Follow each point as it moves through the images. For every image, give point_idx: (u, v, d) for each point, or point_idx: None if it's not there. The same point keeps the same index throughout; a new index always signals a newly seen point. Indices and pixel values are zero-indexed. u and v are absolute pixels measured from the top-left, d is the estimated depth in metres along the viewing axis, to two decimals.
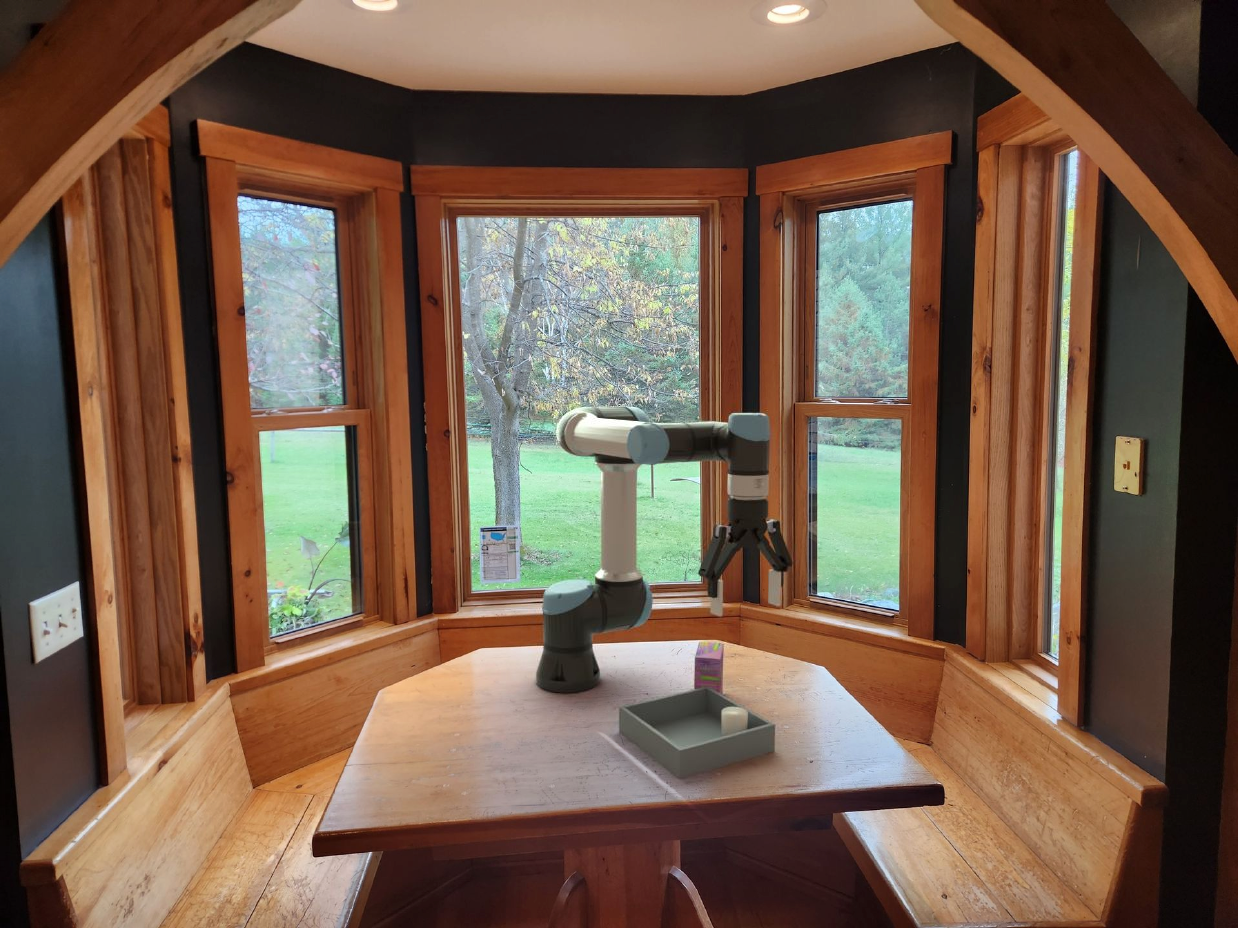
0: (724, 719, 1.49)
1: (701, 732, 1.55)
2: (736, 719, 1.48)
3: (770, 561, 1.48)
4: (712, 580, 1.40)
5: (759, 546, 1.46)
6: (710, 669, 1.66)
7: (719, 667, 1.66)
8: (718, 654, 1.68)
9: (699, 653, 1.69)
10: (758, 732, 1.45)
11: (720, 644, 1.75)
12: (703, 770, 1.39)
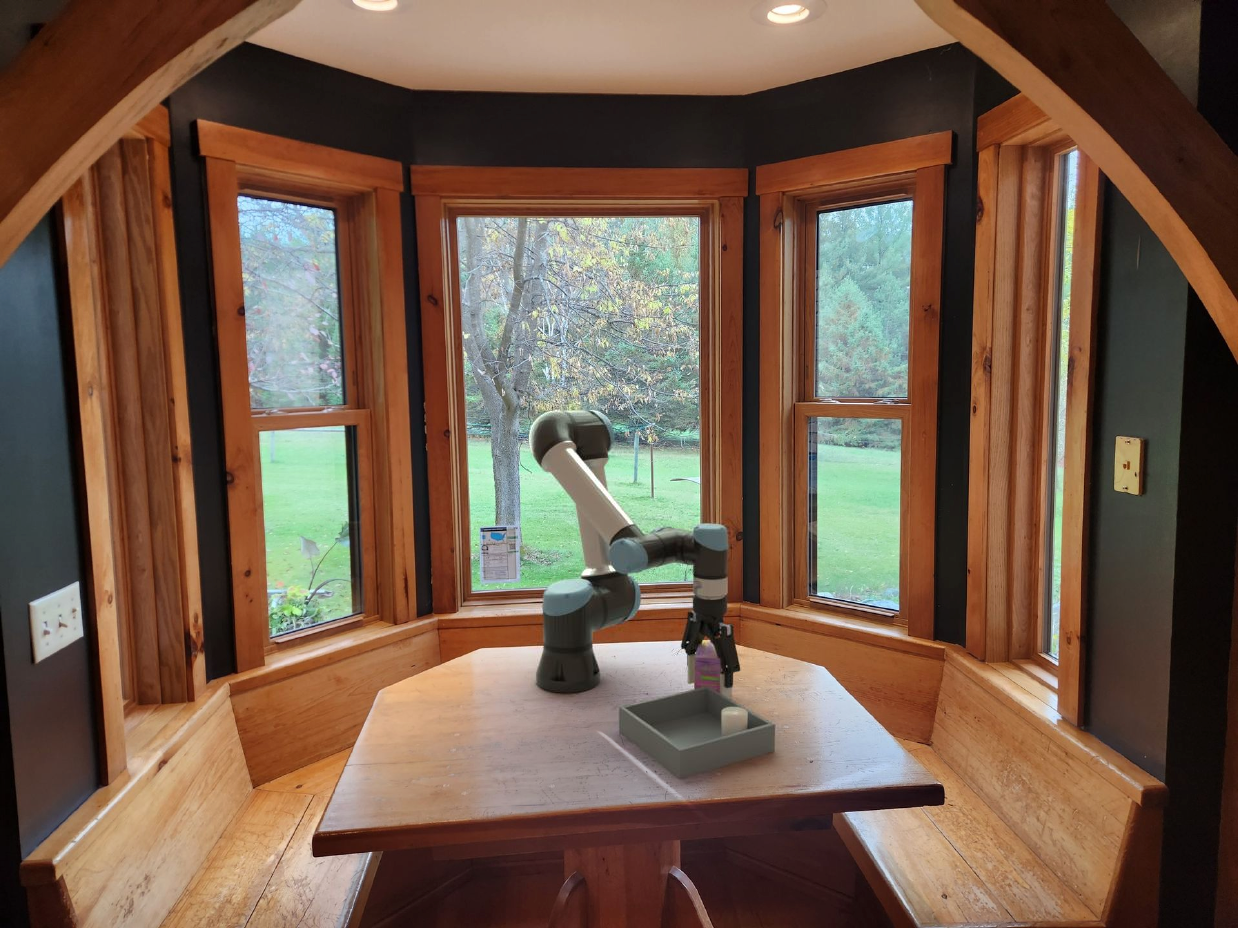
0: (724, 719, 1.49)
1: (701, 732, 1.55)
2: (736, 719, 1.48)
3: None
4: None
5: None
6: (710, 669, 1.66)
7: (719, 667, 1.66)
8: None
9: (699, 653, 1.69)
10: (758, 732, 1.45)
11: None
12: (703, 770, 1.39)
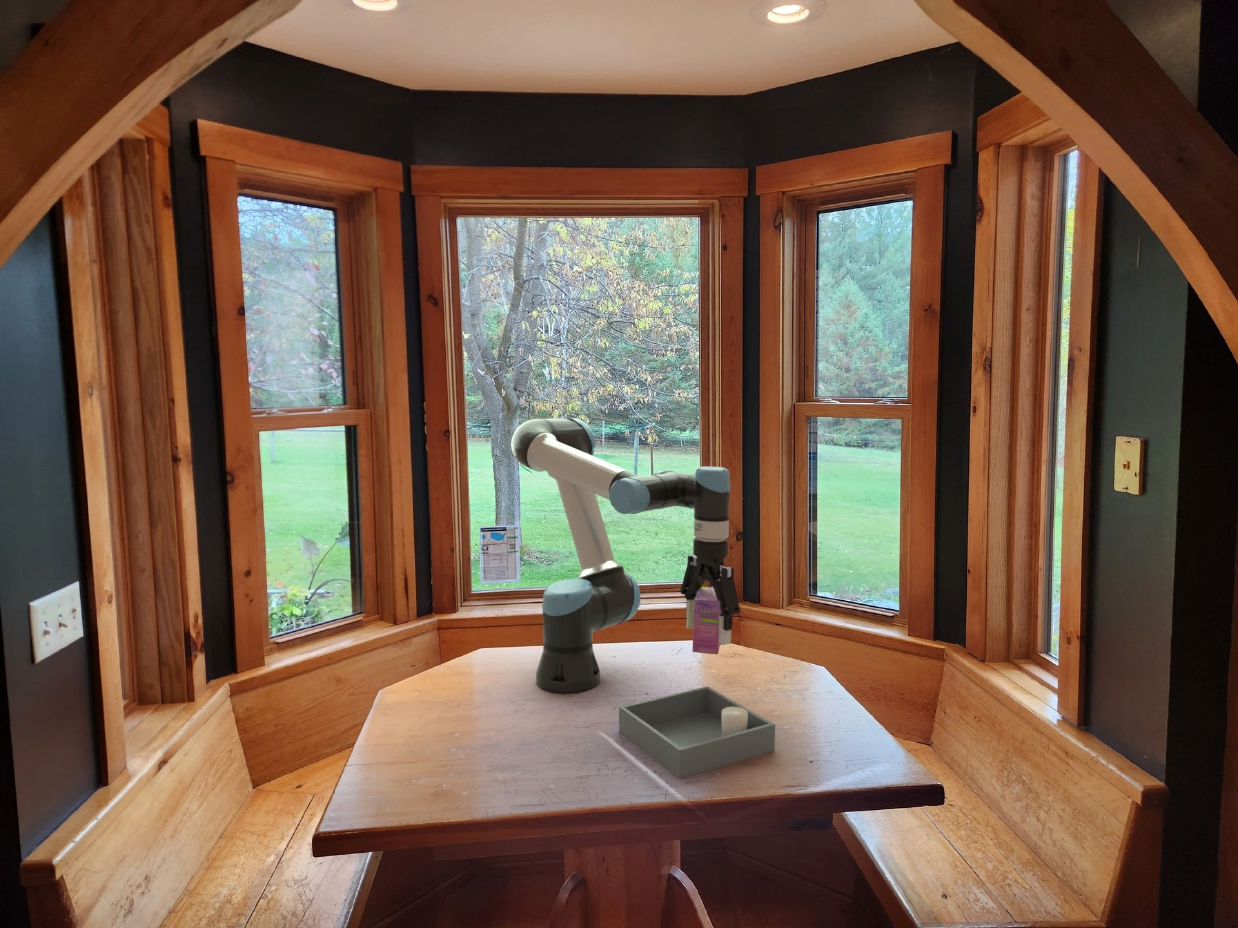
0: (724, 719, 1.49)
1: (701, 732, 1.55)
2: (736, 719, 1.48)
3: None
4: None
5: None
6: (710, 612, 1.65)
7: (719, 610, 1.65)
8: None
9: (699, 596, 1.68)
10: (758, 732, 1.45)
11: None
12: (703, 770, 1.39)
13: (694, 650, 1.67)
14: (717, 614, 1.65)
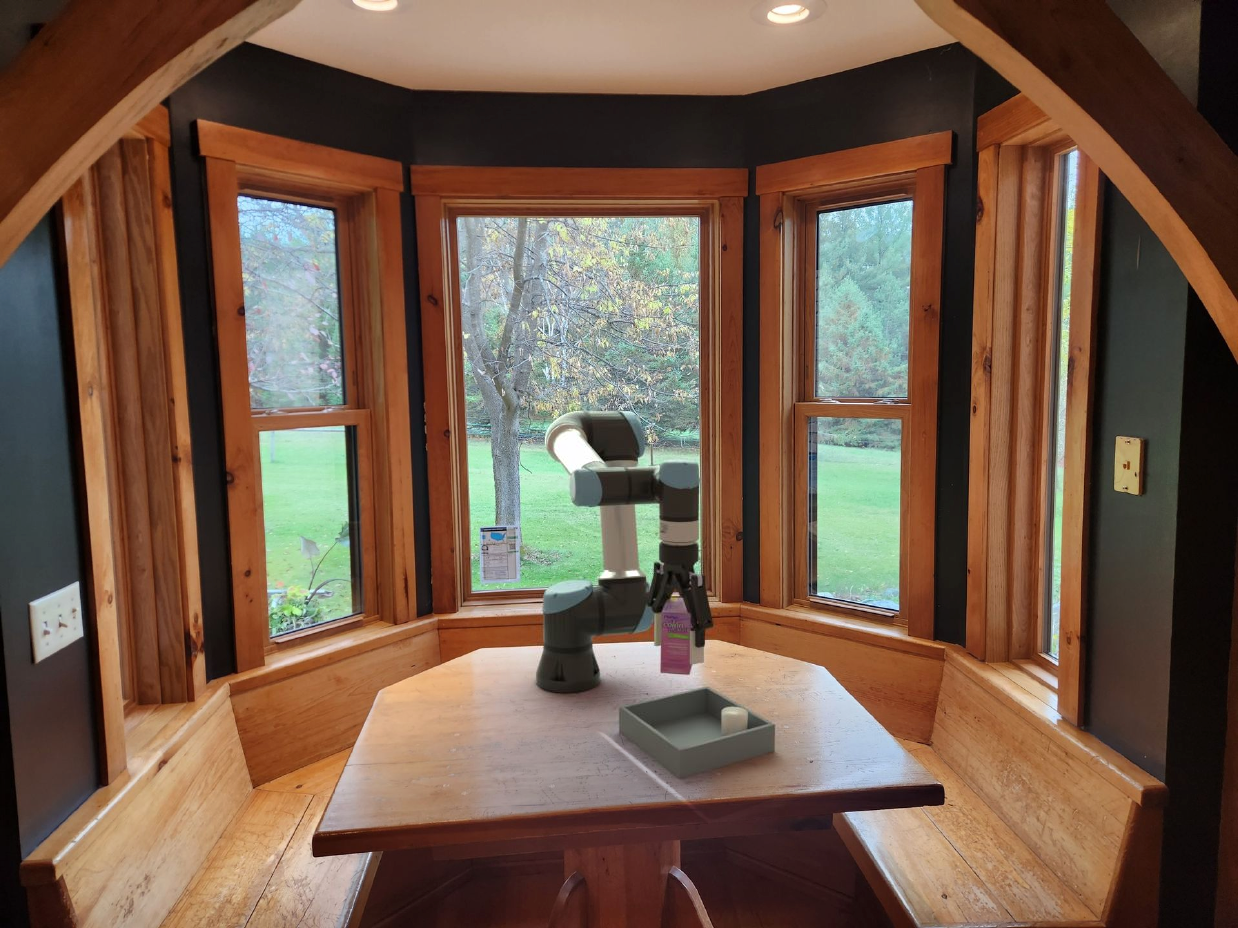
0: (724, 719, 1.49)
1: (701, 732, 1.55)
2: (736, 719, 1.48)
3: None
4: None
5: None
6: (679, 626, 1.44)
7: (689, 623, 1.43)
8: None
9: (667, 608, 1.47)
10: (758, 732, 1.45)
11: None
12: (703, 770, 1.39)
13: (663, 671, 1.45)
14: (687, 628, 1.43)
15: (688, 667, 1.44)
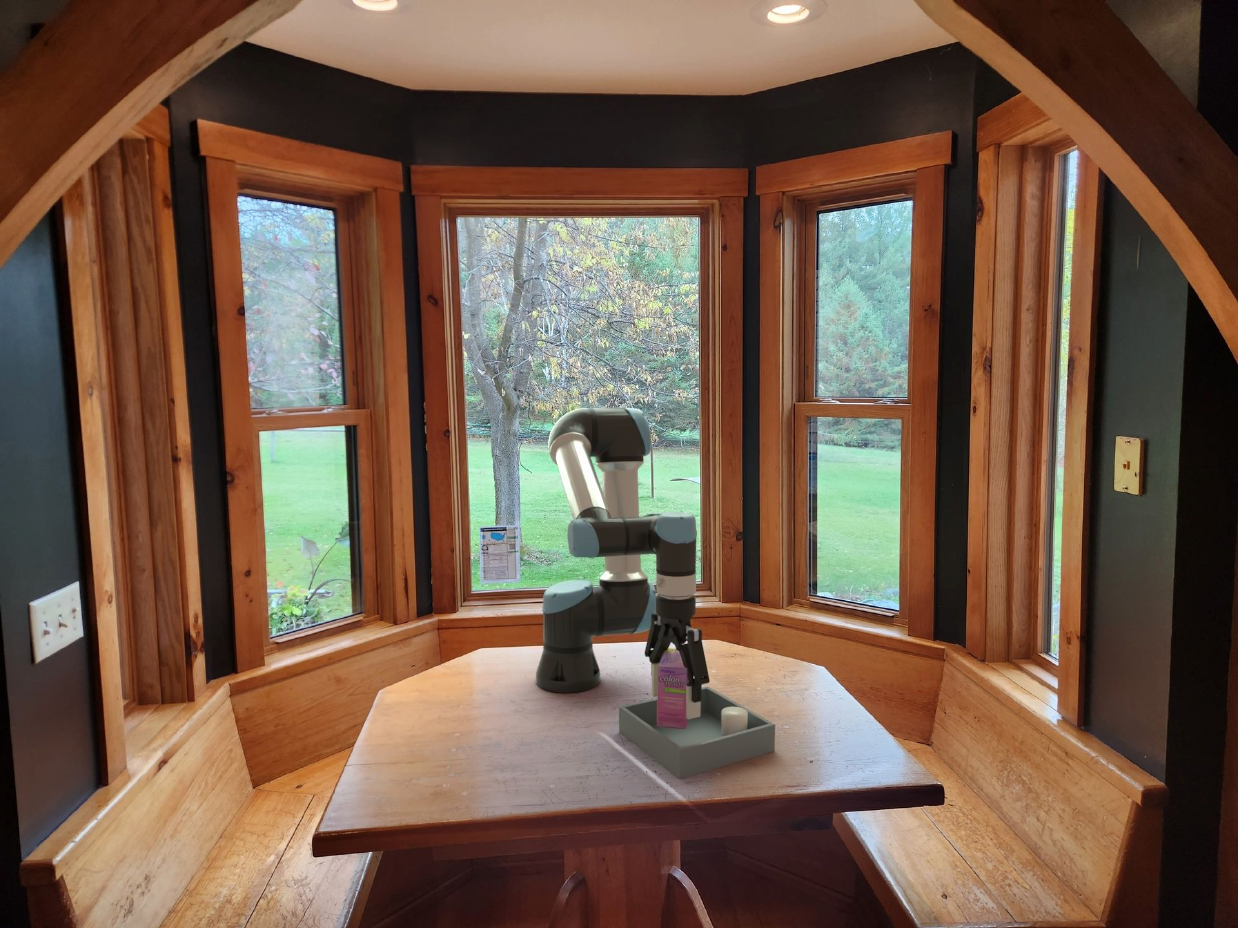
0: (724, 719, 1.49)
1: (701, 732, 1.55)
2: (736, 719, 1.48)
3: None
4: None
5: None
6: (675, 680, 1.44)
7: (686, 678, 1.43)
8: None
9: (663, 661, 1.46)
10: (758, 732, 1.45)
11: None
12: (703, 770, 1.39)
13: (659, 724, 1.45)
14: (684, 683, 1.43)
15: (684, 721, 1.44)
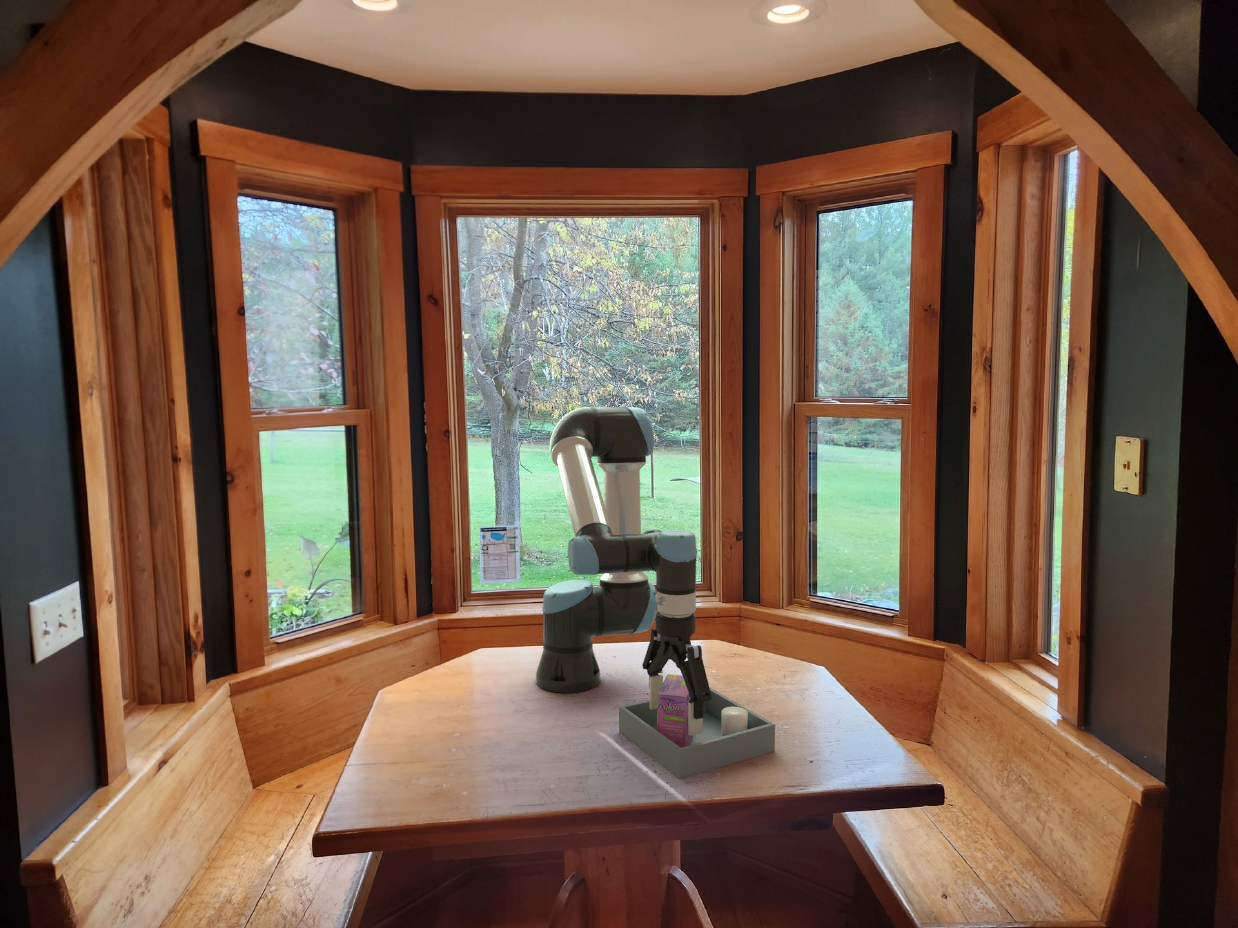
0: (724, 719, 1.49)
1: None
2: (736, 719, 1.48)
3: None
4: None
5: None
6: (675, 708, 1.44)
7: (685, 706, 1.44)
8: (686, 691, 1.46)
9: (664, 688, 1.47)
10: (758, 732, 1.45)
11: None
12: (703, 770, 1.39)
13: None
14: (683, 711, 1.44)
15: None
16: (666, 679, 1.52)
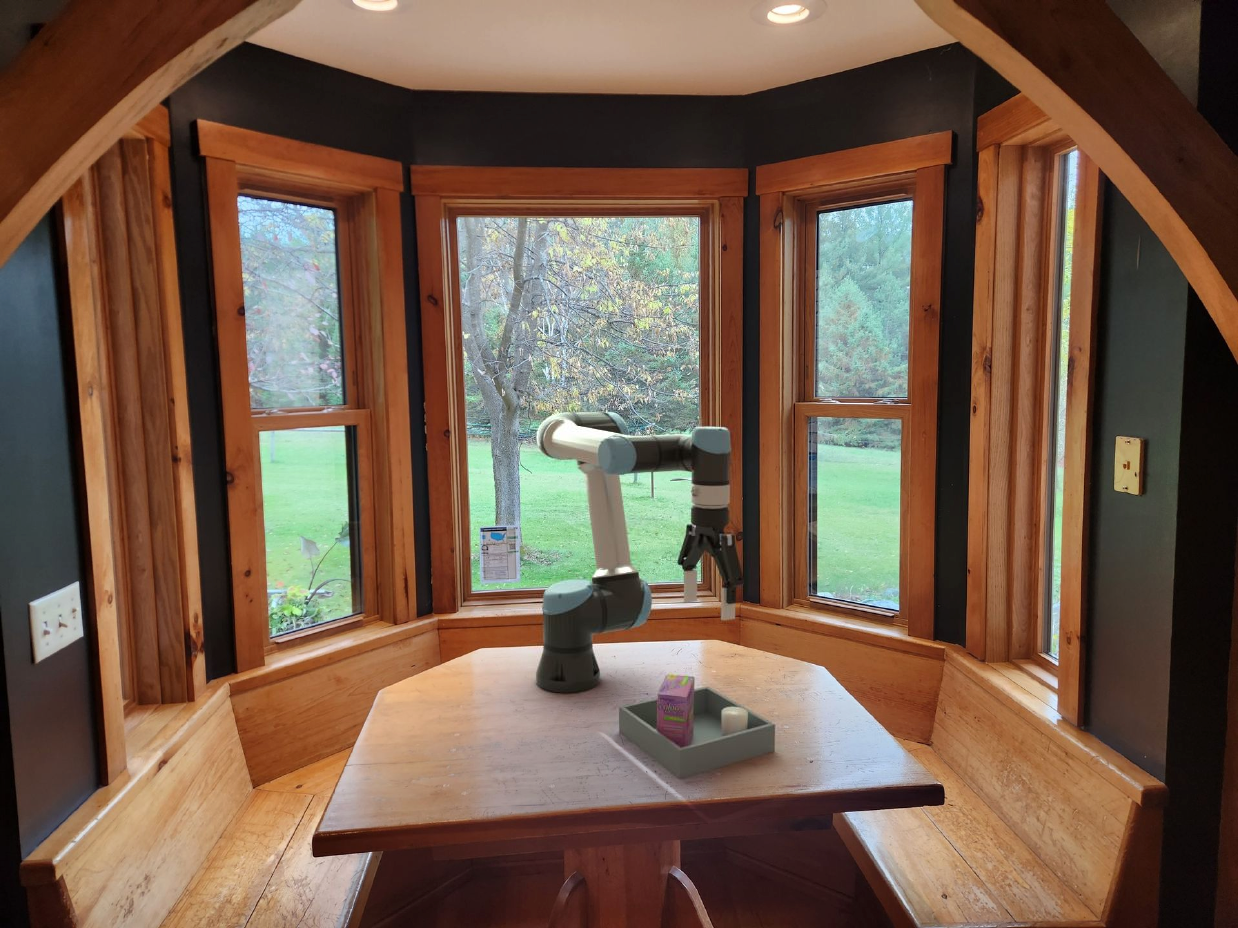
0: (724, 719, 1.49)
1: (701, 732, 1.55)
2: (736, 719, 1.48)
3: None
4: None
5: None
6: (675, 708, 1.44)
7: (685, 706, 1.44)
8: (685, 691, 1.46)
9: (663, 688, 1.47)
10: (758, 732, 1.45)
11: (690, 678, 1.53)
12: (703, 770, 1.39)
13: None
14: (683, 711, 1.44)
15: None
16: (666, 679, 1.52)
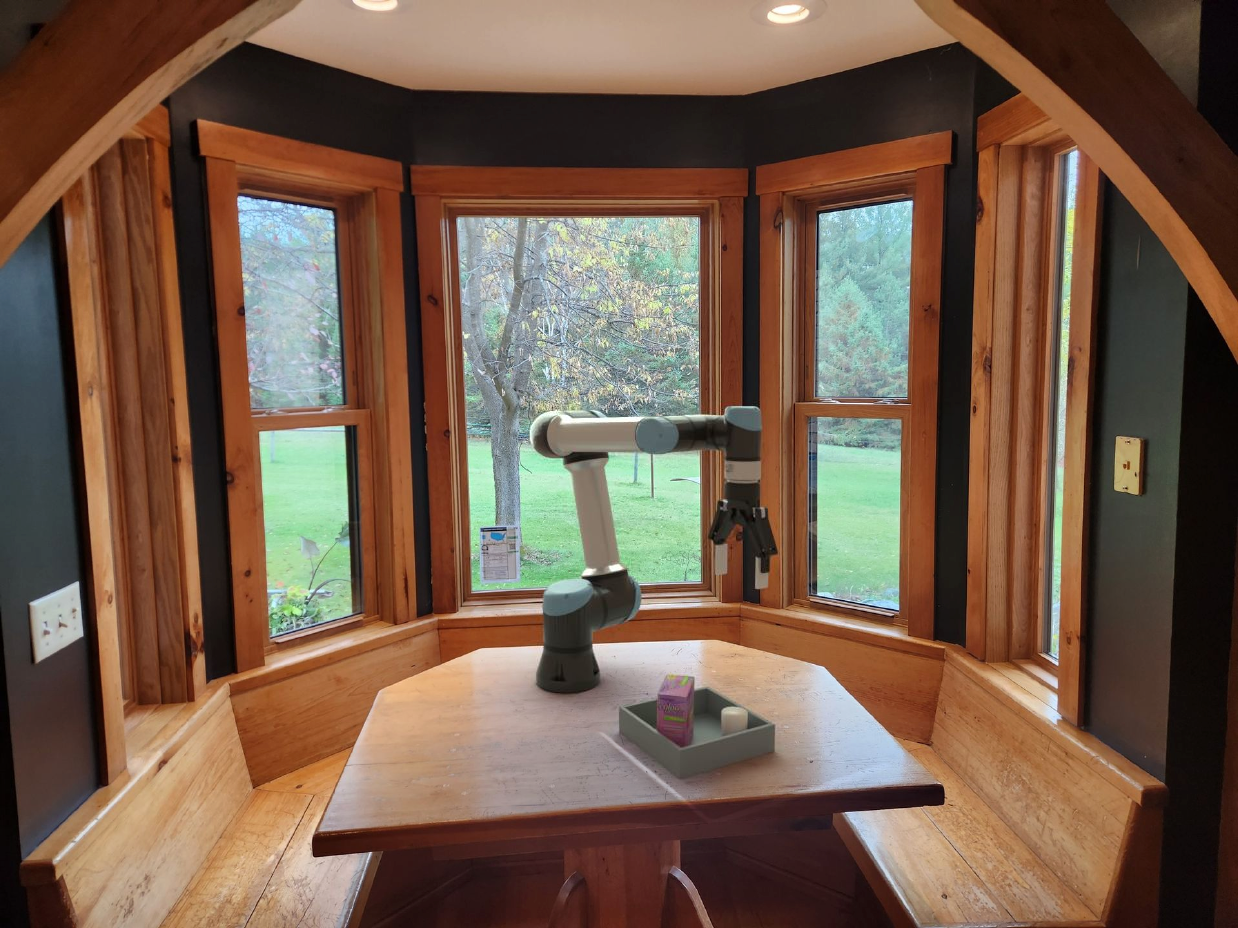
0: (724, 719, 1.49)
1: (701, 732, 1.55)
2: (736, 719, 1.48)
3: None
4: None
5: None
6: (675, 708, 1.44)
7: (685, 706, 1.44)
8: (685, 691, 1.46)
9: (663, 688, 1.47)
10: (758, 732, 1.45)
11: (690, 678, 1.53)
12: (703, 770, 1.39)
13: None
14: (683, 711, 1.44)
15: None
16: (666, 679, 1.52)
